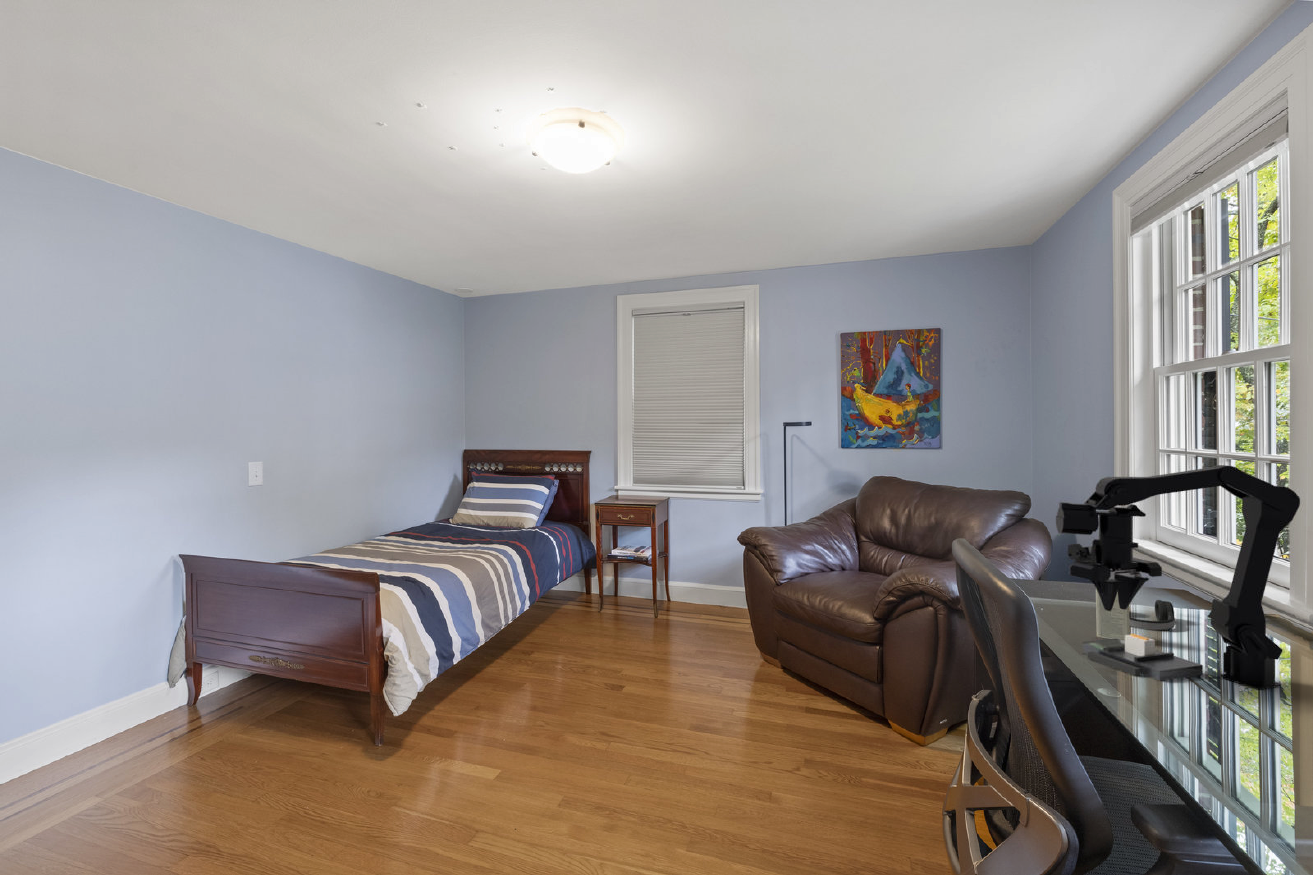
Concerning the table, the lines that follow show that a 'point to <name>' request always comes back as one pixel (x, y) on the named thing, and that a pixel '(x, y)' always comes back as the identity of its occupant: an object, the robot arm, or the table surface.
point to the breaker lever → (1139, 645)
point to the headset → (1163, 615)
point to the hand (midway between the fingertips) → (1115, 609)
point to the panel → (1147, 660)
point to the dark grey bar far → (1100, 640)
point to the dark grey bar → (1114, 663)
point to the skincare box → (1112, 620)
